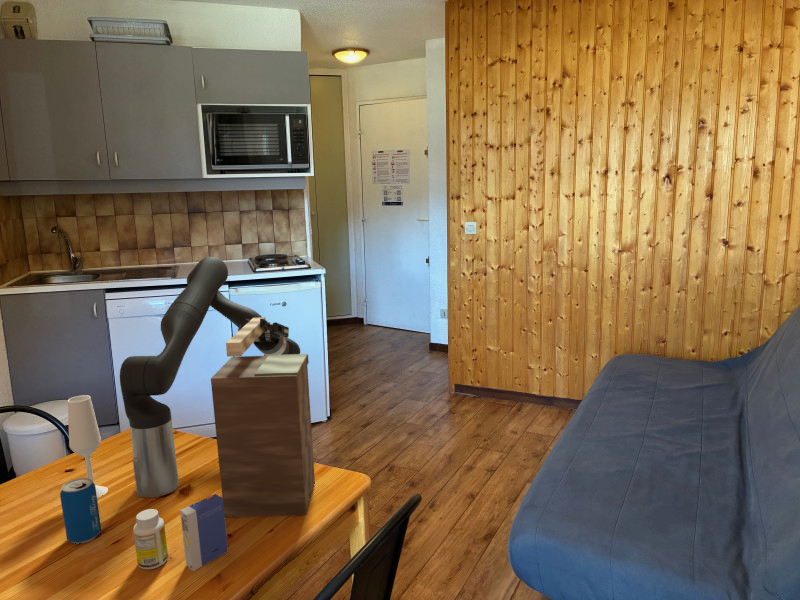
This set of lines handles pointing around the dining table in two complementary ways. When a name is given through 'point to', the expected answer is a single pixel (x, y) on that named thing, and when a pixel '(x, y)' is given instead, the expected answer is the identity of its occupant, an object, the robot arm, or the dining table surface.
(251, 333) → the pale wooden plank
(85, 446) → the champagne flute
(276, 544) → the dining table surface
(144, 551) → the supplement bottle
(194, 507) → the blue cardboard box
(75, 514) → the beverage can
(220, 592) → the dining table surface
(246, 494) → the walnut stand
